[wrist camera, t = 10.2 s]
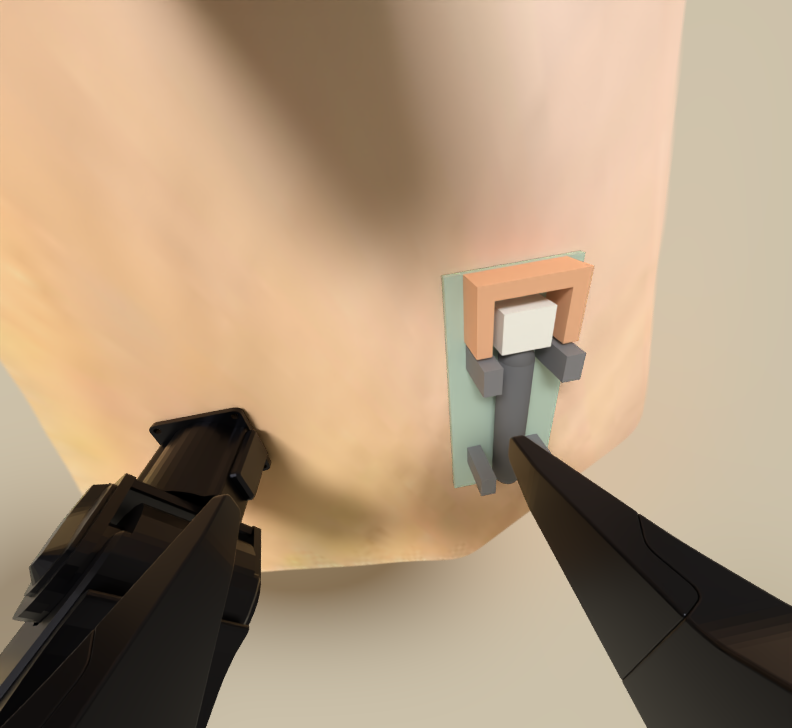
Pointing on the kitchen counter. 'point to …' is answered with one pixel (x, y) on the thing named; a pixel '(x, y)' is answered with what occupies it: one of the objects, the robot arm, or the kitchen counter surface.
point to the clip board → (478, 359)
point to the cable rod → (517, 368)
